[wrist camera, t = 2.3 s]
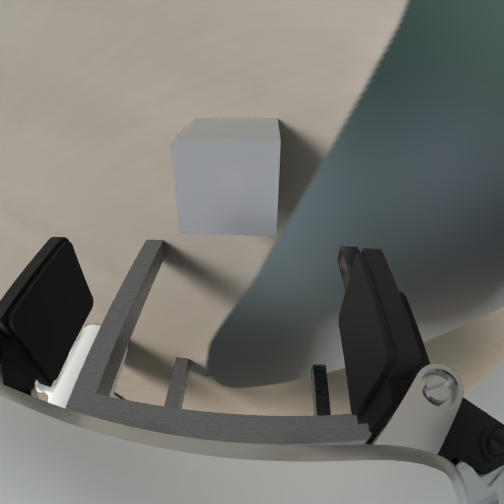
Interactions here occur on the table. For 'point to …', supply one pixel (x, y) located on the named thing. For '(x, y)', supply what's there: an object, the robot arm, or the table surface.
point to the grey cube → (227, 176)
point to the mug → (74, 369)
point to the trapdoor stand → (171, 415)
